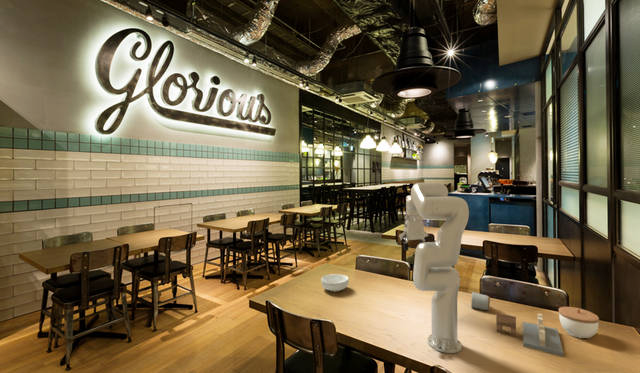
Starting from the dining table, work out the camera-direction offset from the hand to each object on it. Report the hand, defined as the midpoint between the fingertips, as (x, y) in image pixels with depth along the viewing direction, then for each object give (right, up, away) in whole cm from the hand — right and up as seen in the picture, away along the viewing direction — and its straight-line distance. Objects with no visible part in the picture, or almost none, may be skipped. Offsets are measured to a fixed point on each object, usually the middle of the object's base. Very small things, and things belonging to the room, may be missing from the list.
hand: (414, 249), depth 153 cm
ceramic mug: (+32, -29, -7) cm, 44 cm away
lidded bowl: (+59, -29, -33) cm, 73 cm away
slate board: (+40, -29, -36) cm, 61 cm away
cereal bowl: (-42, -29, +21) cm, 55 cm away
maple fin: (+40, -27, -36) cm, 61 cm away
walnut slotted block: (+29, -29, -31) cm, 52 cm away
